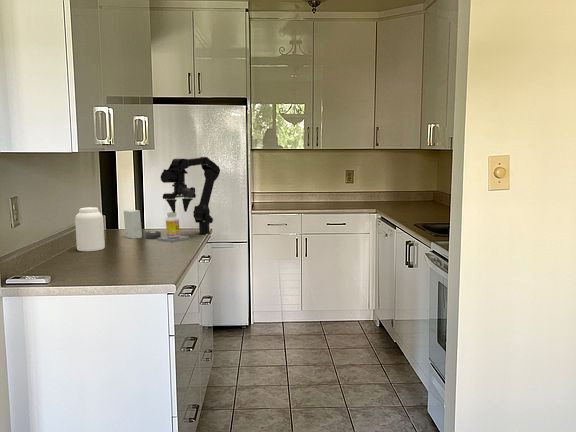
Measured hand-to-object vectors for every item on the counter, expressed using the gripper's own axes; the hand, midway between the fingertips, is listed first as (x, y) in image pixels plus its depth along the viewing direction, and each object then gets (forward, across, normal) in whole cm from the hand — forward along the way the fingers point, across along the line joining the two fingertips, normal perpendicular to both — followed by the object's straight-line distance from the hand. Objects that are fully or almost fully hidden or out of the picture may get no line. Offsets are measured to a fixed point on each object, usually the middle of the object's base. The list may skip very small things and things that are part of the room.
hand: (179, 212), depth 284 cm
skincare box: (+14, -11, +24) cm, 30 cm away
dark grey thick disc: (+14, -6, +14) cm, 21 cm away
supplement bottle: (+13, -4, +1) cm, 14 cm away
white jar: (+16, -45, +14) cm, 49 cm away
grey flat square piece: (+14, -4, +1) cm, 15 cm away
